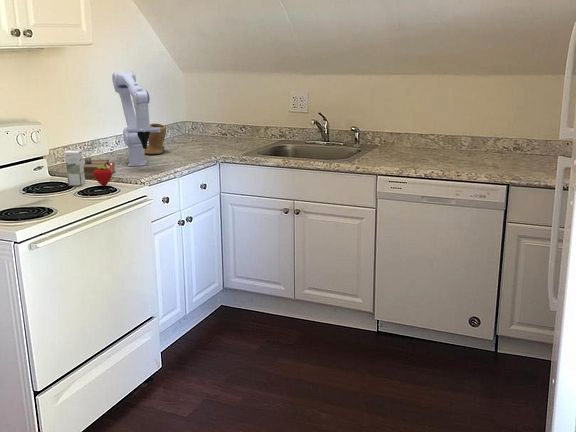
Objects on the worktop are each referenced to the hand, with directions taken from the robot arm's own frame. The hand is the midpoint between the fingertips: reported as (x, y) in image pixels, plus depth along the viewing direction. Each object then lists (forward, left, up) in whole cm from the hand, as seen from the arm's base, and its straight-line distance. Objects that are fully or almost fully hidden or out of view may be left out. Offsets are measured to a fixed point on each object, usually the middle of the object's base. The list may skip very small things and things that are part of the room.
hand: (145, 148), depth 289 cm
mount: (+6, -22, -10) cm, 24 cm away
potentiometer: (+6, -25, -5) cm, 26 cm away
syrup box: (+23, -26, -10) cm, 36 cm away
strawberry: (+28, -14, -10) cm, 33 cm away
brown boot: (-40, 0, -10) cm, 41 cm away
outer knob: (+9, -20, -9) cm, 24 cm away
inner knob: (+2, -20, -9) cm, 22 cm away
